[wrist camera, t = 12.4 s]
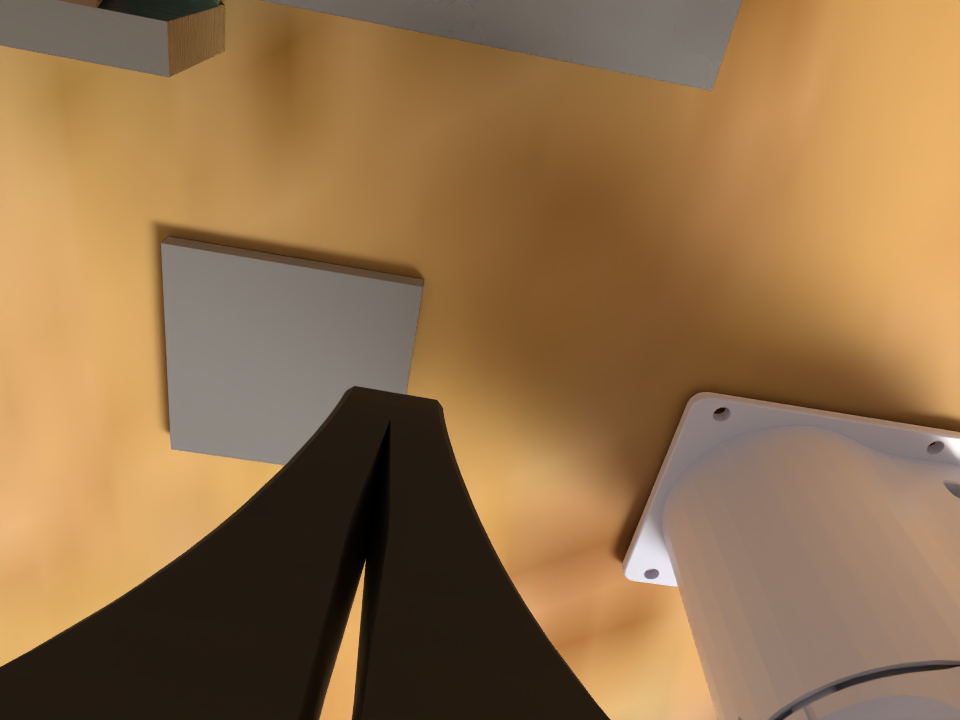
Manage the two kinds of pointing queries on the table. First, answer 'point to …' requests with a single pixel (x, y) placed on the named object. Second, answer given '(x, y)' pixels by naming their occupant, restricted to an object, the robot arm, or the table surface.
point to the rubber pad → (275, 345)
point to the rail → (403, 4)
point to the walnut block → (85, 2)
